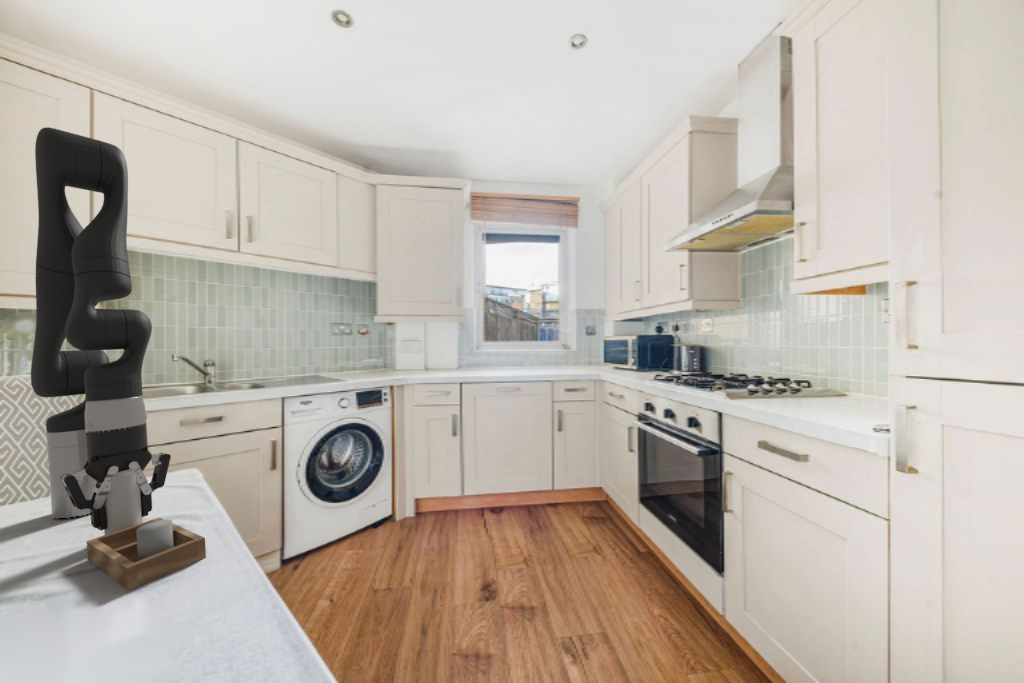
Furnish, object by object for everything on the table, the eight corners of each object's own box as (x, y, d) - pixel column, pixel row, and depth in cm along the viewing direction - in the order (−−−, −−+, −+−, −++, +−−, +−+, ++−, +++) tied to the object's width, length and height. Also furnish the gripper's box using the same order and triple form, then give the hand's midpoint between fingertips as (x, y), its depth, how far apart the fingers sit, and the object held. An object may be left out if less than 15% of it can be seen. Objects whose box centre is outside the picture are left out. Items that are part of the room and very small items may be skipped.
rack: (87, 560, 63) (86, 541, 63) (160, 534, 71) (159, 517, 71) (128, 590, 54) (126, 568, 54) (206, 557, 62) (204, 537, 62)
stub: (134, 568, 60) (131, 528, 60) (167, 555, 63) (165, 517, 63) (145, 575, 58) (142, 534, 58) (179, 561, 61) (176, 522, 61)
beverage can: (119, 546, 67) (114, 474, 67) (96, 544, 68) (92, 473, 68) (150, 532, 72) (146, 465, 72) (129, 530, 73) (124, 464, 73)
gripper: (160, 415, 78) (165, 502, 78) (48, 432, 65) (55, 536, 66) (176, 417, 74) (182, 509, 74) (62, 436, 62) (69, 546, 62)
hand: (123, 521), depth 70 cm, fingers closed on beverage can, 4 cm apart
